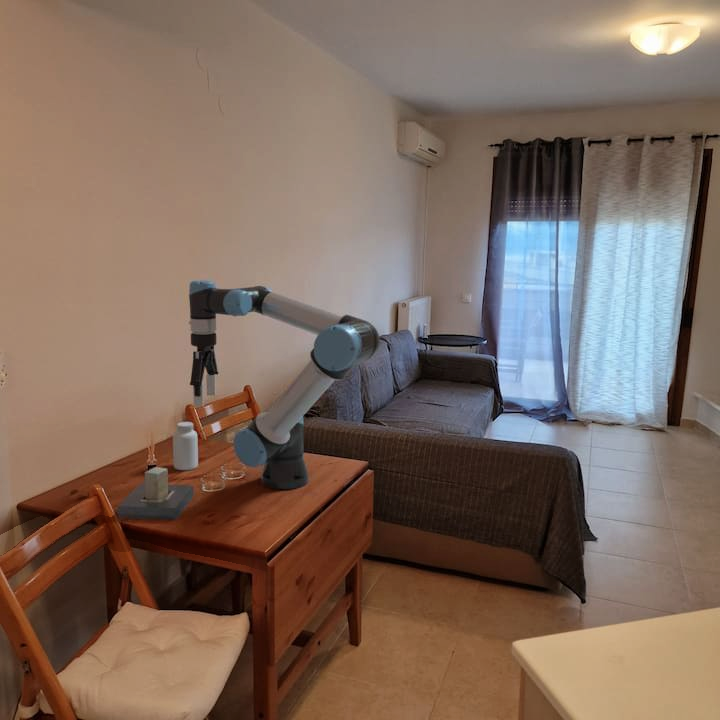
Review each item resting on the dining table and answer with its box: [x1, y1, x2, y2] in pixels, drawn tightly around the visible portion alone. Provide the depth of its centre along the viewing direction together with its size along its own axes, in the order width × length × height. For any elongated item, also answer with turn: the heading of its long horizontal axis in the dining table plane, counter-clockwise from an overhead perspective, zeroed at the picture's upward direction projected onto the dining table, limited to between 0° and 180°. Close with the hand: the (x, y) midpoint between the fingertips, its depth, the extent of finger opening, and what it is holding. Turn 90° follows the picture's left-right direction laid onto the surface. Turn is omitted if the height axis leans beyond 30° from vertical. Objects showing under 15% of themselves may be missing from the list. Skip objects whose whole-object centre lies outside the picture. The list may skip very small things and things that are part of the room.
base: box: [117, 483, 195, 521], centre depth 178 cm, size 16×16×4 cm
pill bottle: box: [172, 421, 199, 471], centre depth 208 cm, size 8×8×15 cm
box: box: [144, 466, 169, 501], centre depth 177 cm, size 5×4×11 cm
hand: (205, 400), depth 191 cm, fingers open, 13 cm apart
